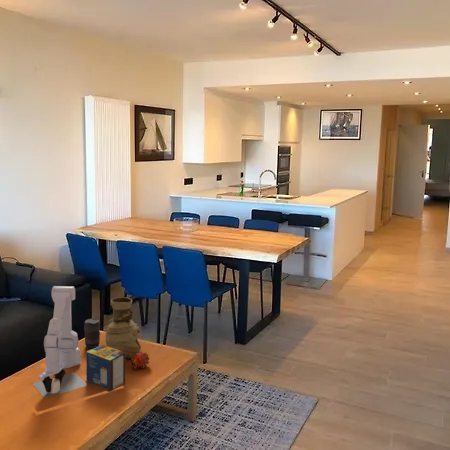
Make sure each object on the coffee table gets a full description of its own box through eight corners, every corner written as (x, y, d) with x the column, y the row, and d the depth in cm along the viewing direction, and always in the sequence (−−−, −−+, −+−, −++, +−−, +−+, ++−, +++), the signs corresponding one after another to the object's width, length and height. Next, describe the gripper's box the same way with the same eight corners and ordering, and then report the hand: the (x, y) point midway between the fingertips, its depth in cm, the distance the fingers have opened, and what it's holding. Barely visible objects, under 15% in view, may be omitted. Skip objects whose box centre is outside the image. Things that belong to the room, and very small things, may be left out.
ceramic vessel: (151, 350, 269) (152, 297, 264) (126, 364, 251) (126, 308, 246) (123, 342, 278) (124, 291, 273) (97, 355, 259) (97, 301, 254)
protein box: (101, 374, 240) (102, 344, 237) (125, 383, 232) (126, 352, 229) (85, 382, 231) (85, 351, 228) (109, 392, 223) (110, 360, 221)
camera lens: (88, 343, 275) (88, 317, 272) (102, 344, 273) (102, 319, 271) (82, 349, 267) (81, 322, 264) (96, 350, 266) (96, 324, 263)
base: (74, 374, 239) (74, 365, 238) (88, 387, 226) (88, 378, 226) (32, 385, 226) (32, 376, 225) (44, 400, 214) (44, 390, 213)
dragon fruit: (149, 365, 254) (134, 377, 245) (138, 353, 256) (122, 365, 246) (156, 356, 250) (140, 368, 240) (144, 344, 252) (129, 355, 242)
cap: (58, 386, 224) (58, 377, 223) (61, 391, 220) (60, 382, 219) (46, 389, 221) (46, 379, 220) (49, 394, 217) (49, 384, 216)
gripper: (58, 352, 226) (58, 380, 229) (33, 364, 213) (34, 393, 216) (69, 355, 223) (70, 383, 226) (45, 368, 210) (46, 397, 213)
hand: (53, 388), depth 220 cm, fingers closed on cap, 5 cm apart
